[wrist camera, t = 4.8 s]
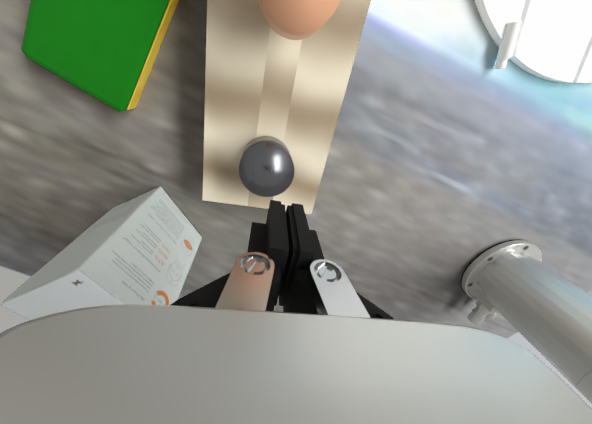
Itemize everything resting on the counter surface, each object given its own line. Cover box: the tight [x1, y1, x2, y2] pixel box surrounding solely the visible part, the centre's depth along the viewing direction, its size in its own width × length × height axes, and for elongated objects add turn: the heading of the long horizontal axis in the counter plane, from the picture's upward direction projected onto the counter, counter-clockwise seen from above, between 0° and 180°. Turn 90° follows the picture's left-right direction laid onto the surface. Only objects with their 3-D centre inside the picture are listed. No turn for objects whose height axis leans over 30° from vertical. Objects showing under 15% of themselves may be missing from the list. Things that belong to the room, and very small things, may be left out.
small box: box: [1, 187, 202, 321], centre depth 22 cm, size 8×6×13 cm
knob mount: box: [202, 0, 371, 214], centre depth 18 cm, size 32×11×4 cm, turn 168°
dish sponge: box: [22, 0, 179, 111], centre depth 17 cm, size 7×14×2 cm, turn 143°
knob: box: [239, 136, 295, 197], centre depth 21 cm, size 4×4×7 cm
